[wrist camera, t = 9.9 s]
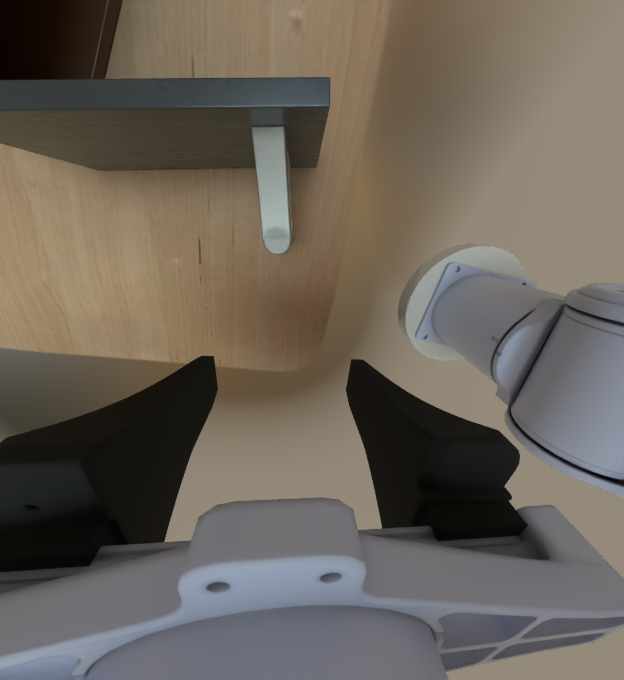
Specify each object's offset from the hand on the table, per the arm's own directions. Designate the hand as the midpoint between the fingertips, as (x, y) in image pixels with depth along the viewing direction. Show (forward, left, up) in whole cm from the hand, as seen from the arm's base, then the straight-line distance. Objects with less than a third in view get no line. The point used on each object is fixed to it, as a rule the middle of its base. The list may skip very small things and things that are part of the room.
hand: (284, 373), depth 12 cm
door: (+7, -7, -10) cm, 15 cm away
